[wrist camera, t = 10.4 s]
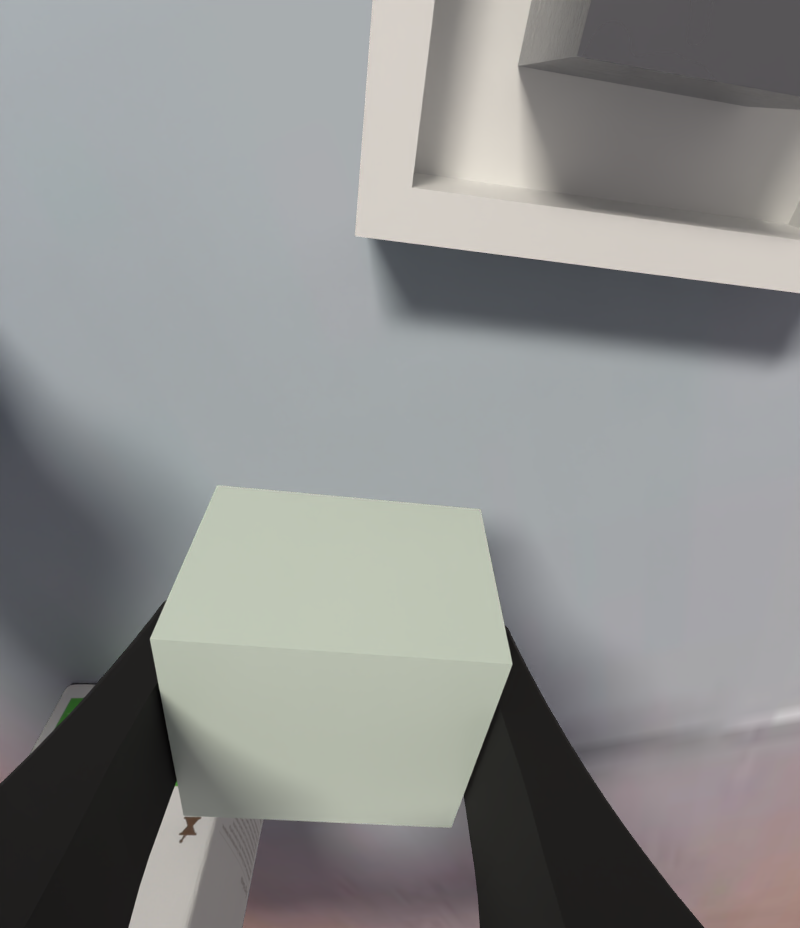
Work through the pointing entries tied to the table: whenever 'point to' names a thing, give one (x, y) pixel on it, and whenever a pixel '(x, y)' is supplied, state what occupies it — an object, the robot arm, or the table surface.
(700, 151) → the box
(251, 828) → the skincare box
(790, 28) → the metal block
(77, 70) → the table surface
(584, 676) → the table surface
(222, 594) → the pale green box
